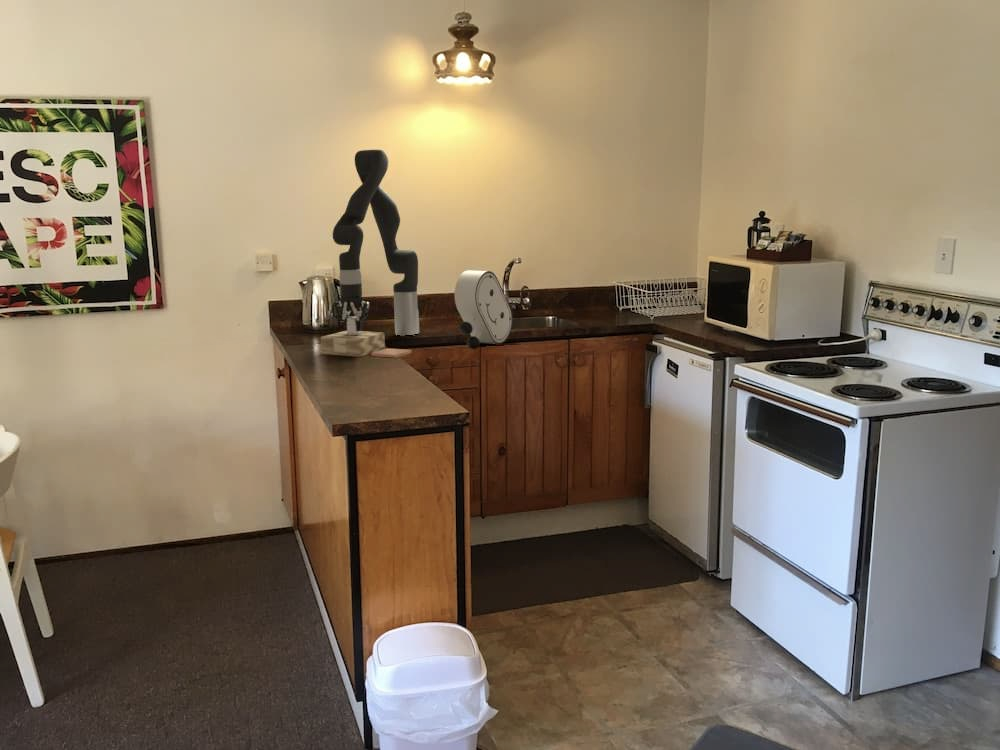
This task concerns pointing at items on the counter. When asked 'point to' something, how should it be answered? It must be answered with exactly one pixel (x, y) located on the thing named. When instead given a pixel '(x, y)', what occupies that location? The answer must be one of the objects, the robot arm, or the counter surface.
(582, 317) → the counter surface
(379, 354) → the coaster
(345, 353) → the bore block
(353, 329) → the light grey cylinder
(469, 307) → the robot
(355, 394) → the counter surface
